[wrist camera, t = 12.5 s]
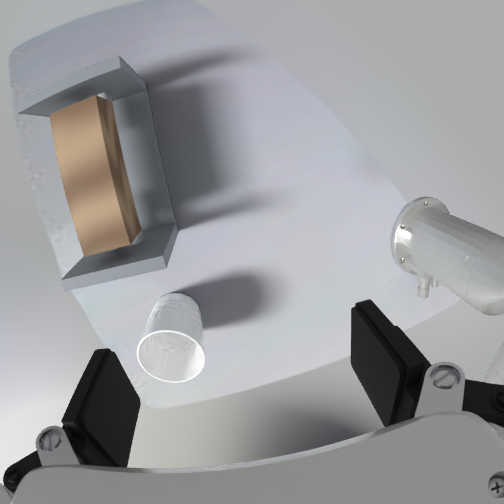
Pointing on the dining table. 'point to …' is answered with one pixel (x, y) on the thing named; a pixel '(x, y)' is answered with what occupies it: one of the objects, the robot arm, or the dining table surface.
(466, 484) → the robot arm
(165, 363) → the white cup
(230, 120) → the dining table surface
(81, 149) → the shelf board
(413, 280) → the dining table surface
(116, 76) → the peg frame
